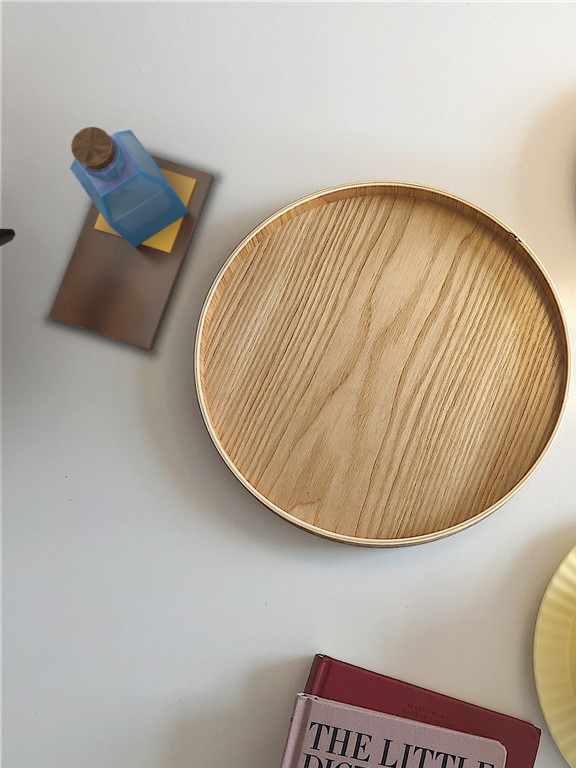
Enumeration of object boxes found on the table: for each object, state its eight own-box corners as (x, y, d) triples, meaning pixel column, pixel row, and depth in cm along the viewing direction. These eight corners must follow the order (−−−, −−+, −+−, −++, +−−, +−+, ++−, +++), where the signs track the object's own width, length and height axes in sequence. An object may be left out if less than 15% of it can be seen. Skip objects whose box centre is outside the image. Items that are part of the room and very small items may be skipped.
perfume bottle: (134, 247, 66) (79, 199, 54) (99, 195, 66) (36, 136, 54) (189, 212, 66) (146, 156, 54) (154, 160, 67) (103, 93, 55)
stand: (51, 318, 66) (46, 316, 65) (116, 146, 68) (113, 141, 67) (150, 350, 66) (147, 348, 65) (214, 177, 67) (211, 173, 67)
